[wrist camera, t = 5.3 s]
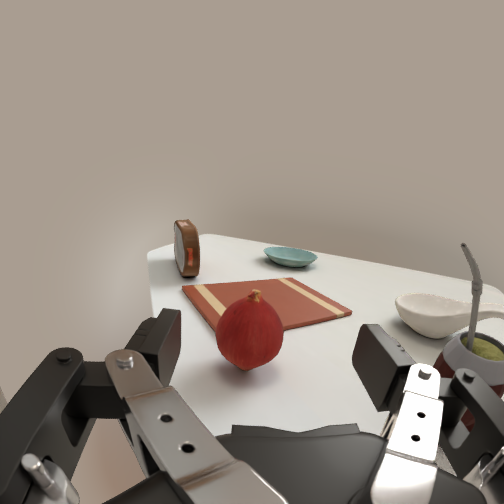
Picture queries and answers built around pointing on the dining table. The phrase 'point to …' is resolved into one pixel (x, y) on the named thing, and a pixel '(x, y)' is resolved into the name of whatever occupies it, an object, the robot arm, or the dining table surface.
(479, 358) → the mate gourd
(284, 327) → the towel
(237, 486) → the robot arm
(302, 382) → the dining table surface
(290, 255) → the saucer
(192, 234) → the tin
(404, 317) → the spoon rest
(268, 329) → the red pomegranate
